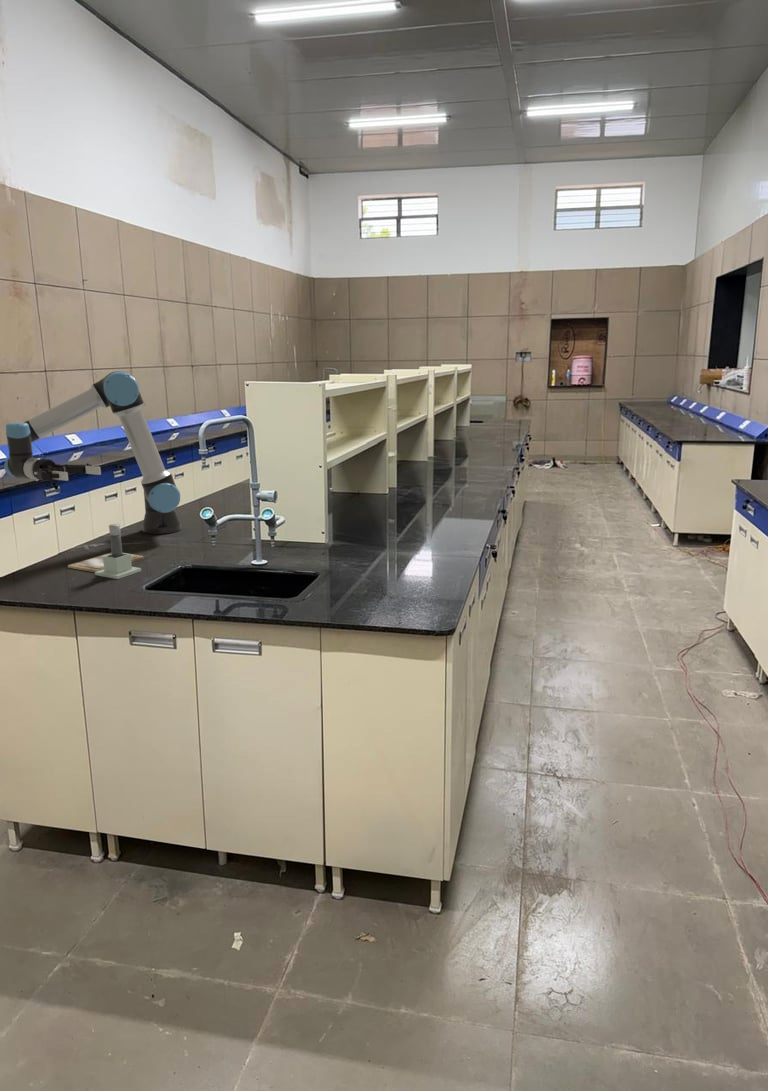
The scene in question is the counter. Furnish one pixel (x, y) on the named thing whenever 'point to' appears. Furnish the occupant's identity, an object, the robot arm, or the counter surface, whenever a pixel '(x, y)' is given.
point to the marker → (115, 540)
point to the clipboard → (97, 563)
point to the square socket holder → (117, 567)
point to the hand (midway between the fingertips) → (83, 473)
